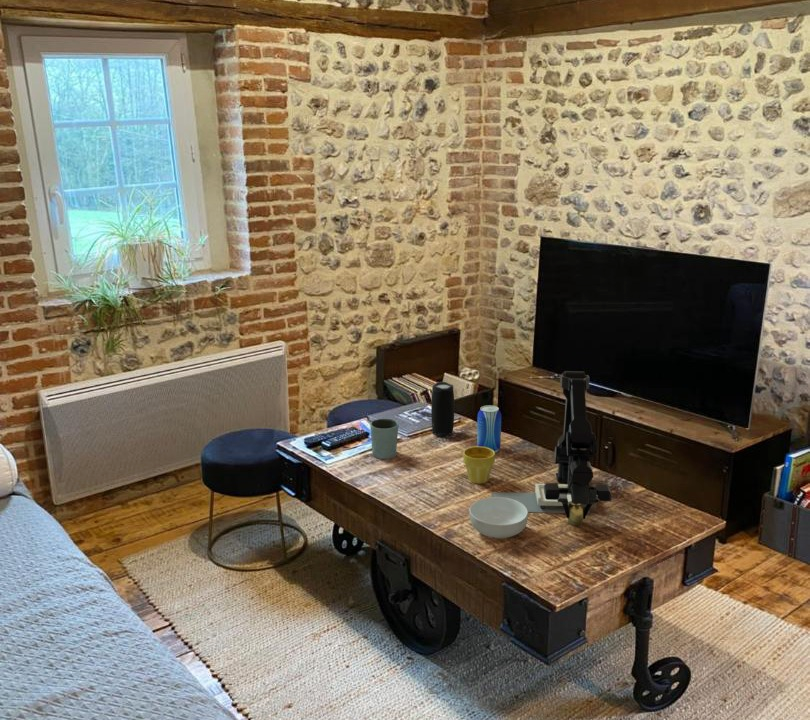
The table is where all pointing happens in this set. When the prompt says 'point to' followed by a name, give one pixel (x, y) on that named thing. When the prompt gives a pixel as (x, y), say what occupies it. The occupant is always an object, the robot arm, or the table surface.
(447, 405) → the portable speaker
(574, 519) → the solid brass cylinder
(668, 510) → the table surface
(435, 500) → the table surface
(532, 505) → the mat
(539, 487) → the shallow square tray
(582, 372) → the robot arm
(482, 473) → the plant pot
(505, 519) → the cereal bowl
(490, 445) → the beer can
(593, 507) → the end stop
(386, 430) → the green cup
